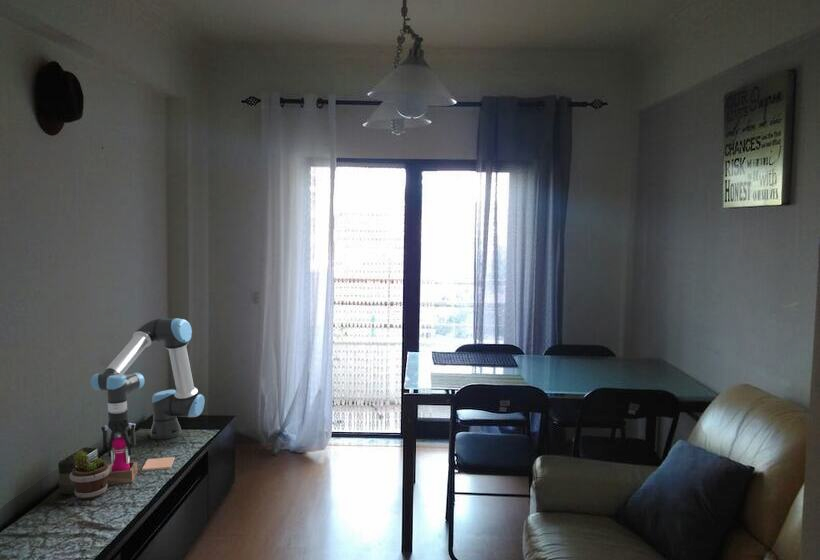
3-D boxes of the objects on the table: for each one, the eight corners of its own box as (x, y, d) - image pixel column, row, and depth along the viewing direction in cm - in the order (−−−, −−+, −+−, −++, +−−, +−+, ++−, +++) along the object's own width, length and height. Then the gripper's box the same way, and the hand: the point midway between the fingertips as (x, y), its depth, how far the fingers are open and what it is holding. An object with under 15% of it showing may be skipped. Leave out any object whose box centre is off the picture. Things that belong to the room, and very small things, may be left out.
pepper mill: (126, 473, 277) (124, 429, 275) (133, 478, 271) (130, 433, 270) (109, 478, 272) (107, 433, 270) (115, 483, 266) (113, 437, 265)
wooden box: (111, 474, 276) (110, 463, 275) (137, 472, 278) (137, 461, 278) (104, 484, 265) (103, 473, 265) (132, 482, 267) (131, 470, 267)
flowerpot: (117, 486, 263) (115, 440, 261) (100, 502, 248) (98, 453, 246) (82, 487, 263) (79, 441, 261) (63, 503, 247) (60, 454, 246)
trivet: (147, 460, 291) (147, 459, 291) (174, 458, 294) (174, 457, 294) (142, 470, 280) (141, 469, 280) (170, 468, 282) (170, 466, 282)
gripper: (92, 415, 263) (95, 468, 265) (138, 412, 267) (141, 464, 269) (97, 410, 271) (100, 462, 273) (142, 407, 274) (144, 458, 276)
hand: (120, 463), depth 271 cm, fingers closed on pepper mill, 5 cm apart
